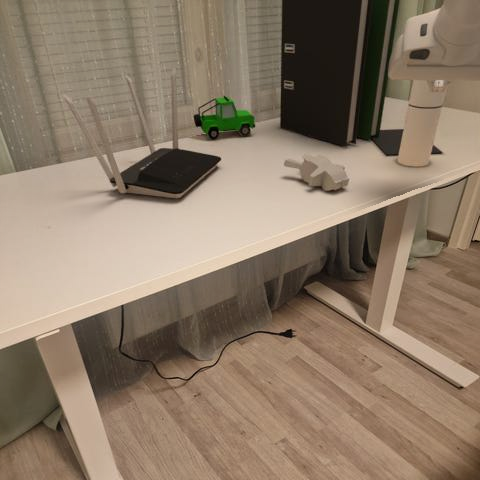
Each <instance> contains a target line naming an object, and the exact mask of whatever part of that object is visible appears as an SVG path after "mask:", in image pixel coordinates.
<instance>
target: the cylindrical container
mask: <svg viewBox="0 0 480 480" xmlns="http://www.w3.org/2000/svg"><path fill="white" fill-rule="evenodd" d="M411 84H412V85H411V90H410V95H409V100H408V105H407V109H406V114H405V120H404V125H403V129H404V130H403V135H402V140H401V145H400V150H399V155H397V163H399V164H400V165H403V166H405V167H414V168H415V167H416V168H418V167H425V166H428V165H429V163H430V159H431V155H432V154H431V151H432V147H433V145H434V142H435V139H436V135H437V130H438V126H439V123H440V118H441V112H442V109H443V105H444V101H445V97H446V93H447V88H448V87H446V89H445V92H429V84H428V83H427V80H412V83H411Z"/></svg>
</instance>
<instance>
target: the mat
mask: <svg viewBox="0 0 480 480" xmlns="http://www.w3.org/2000/svg"><path fill="white" fill-rule="evenodd" d="M403 130H404V128H397V129H396V128H395V129H394V128H393V129H391V128H390V129H380V134H379V138H377V137H374V136H371V139H370V140H372V142H373V143H374V144H375V145H376V146H377V147H378V148H379V150H380V151H381V152H382V153H383V154H384V155H385V156H386V157H390V156H391V157H394V156H398V155H399V150H400V145H401V140H402V135H403ZM442 154H443V151H442V150H440V149H439V148H438V147H437V146H435V145H434V144H433V147H432V151H431V155H442Z"/></svg>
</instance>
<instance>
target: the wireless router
mask: <svg viewBox="0 0 480 480" xmlns="http://www.w3.org/2000/svg"><path fill="white" fill-rule="evenodd" d="M124 77H125V79H126V83H127V86H128V89H129V91H130V94H131V97H132V101H133V103H134V106H135V109H136V112H137V115H138V118H139V121H140V124H141V127H142V129H143V133H144V136H145V139H146V143H147V145H148V147H149V151H150V154H149V155H147V156H145V157H143V158H142V159H141V160H139V161H137V162H136V163H134V164H132V165H130V166H128V167H127V168H126V169H124V170H122V171H120V169H119V167H118V164H117V161H116V159H115V156H114V152H113V150H112V147H111V145H110V142H109V139H108V136H107V134H106V131H105V128H104V126H103V123H102V120H101V117H100V115H99V114H100V113H99V112H98V108H97V106H96V103H94V102H93V100H92V99H91V98H86V101H87V105H88V108H89V110H90V114H91V116H92V118H93V121H94V124H95V128H96V130H97V132H98V135H99V139H100V142H101V144H102V147H103V150H104V153H105V155H106V158H107V161H108V162H107V161H106V159H105V157H104V155H103V153H102V151H101V150H100V148H99V146H98V144H97V143H96V140H95V139H94V137H93V135H92V134H91V132H90V130H89V128H88V126H87V124H86V122H85V121H84V119H83V117H82V116H81V114H80V112H79V110H78V108H77V107H76V105H75V103H74V101H73V99H72V98H71V97H70V96H68V95H67V94H63V95H62V97H63V99H64V100H65V102H66V104H67V106H68V108H69V109H70V110H71V113H72V115H73V116H74V118H75V120H76V122H77V124H78V127H80V129H81V131H82V134H83V135H84V137H85V138H86V140H87V142H88V144H89V145H90V148H91V149H92V152H93V153H94V154H95V156H96V159H97V160H98V162H99V164H100V166H101V167H102V169H103V171H104V173H105V175H106V177H107V179H108V180H109V183H110V184H111V186H112V188H115V187H117V190H118V192H119V193H120V194H125V193H127V194H134V195H135V194H136V195H145V196H154V197H161V198H169V199H180V198H181V197H183V196H184V195H185V194H187V192H188V191H190V190H191V189H192V188H193V187H195V185H196V184H198V183H199V182H200V181H202V179H204V178H205V177H206V176H207V175H208V174H210V173H211V172H212V171H214V170H215V168H216V167H217V165H218V164H219V163H220V162H221V161H222V158H221V156H218V155H215V154H208V153H203V152H198V151H193V150H188V149H183V148H182V149H180V148H179V126H178V125H179V124H178V123H179V121H178V94H177V93H178V91H177V68H176V67H173V68H172V70H171V73H170V81H171V82H170V83H171V85H170V86H171V130H172V131H171V132H172V137H171V138H172V139H171V140H172V148H171V147H170V148H169V147H162V148H158V149H156V148H155V145H154V143H153V139H152V136H151V134H150V130H149V128H148V124H147V122H146V119H145V116H144V113H143V110H142V107H141V105H140V100H139V98H138V95H137V92H136V89H135V87H134V84H133V81H132V79H131V78H130V77H129V75H128V74H125V76H124ZM108 163H109V164H108Z"/></svg>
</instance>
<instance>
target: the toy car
mask: <svg viewBox="0 0 480 480" xmlns="http://www.w3.org/2000/svg"><path fill="white" fill-rule="evenodd" d="M214 101H215V103H214V105H212V106H211V107H209V108H207V109H205V110H203V111H202V112H201V110H200V109H201V108H204V107H205V106H207V105H208V104H210V103H212V102H214ZM214 108H215V114H207V115H204V114H205V113H207V112H208V111H210V110H212V109H214ZM197 110H198V113H197V114H193V122H194V125H195V128H200V129H201V130H202V132H203V134H207V136H208V138H209V139H210V140H212V141H216V140H217V139H219V137H220V134H221V133H223V132H232V131H233V132H234V131H237V132H238V133H239V135H240V136H241V137H245V138H246V137H248V136H250V134H251V130H254V129H255V128H256V123H255V116H254V115H253V114H251V113H250V111H248V110H247V109H237V108H236V105H235V102H234V100H232V99H231V98H230V97H229V96H226V95H223V96H222V97H216V98H213V99H211V100H209V101H207V102H206V103H204V104H203V105H201V106H198V108H197Z"/></svg>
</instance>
